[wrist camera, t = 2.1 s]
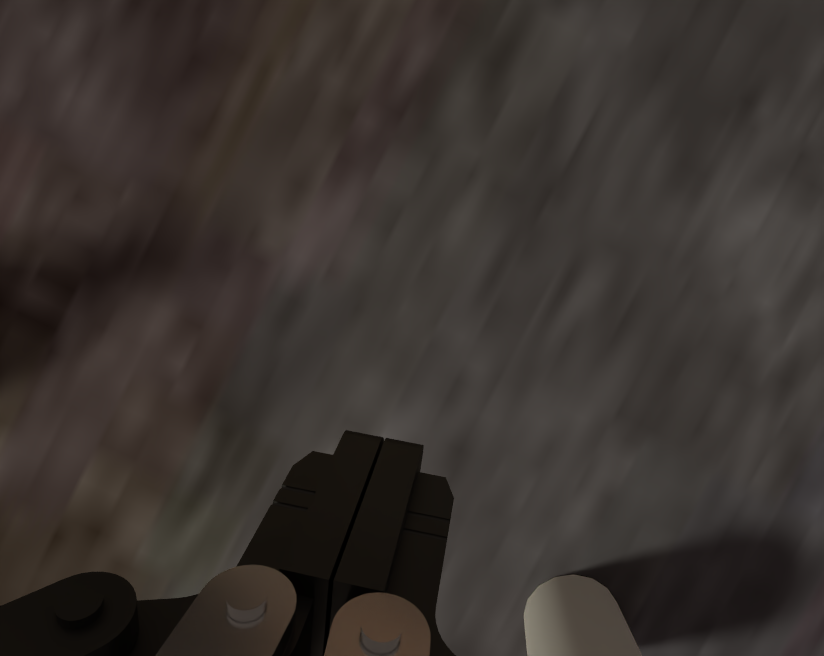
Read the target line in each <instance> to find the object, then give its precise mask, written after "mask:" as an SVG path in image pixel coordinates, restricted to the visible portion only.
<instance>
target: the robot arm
mask: <svg viewBox="0 0 824 656" xmlns="http://www.w3.org/2000/svg"><path fill="white" fill-rule="evenodd" d="M422 455H423V445H420V444H415V443H409V442H404V441H399V440H394V439H389V438H386V439H385V441H384V438H383V437H378V436H373V435H368V434H363V433H358V432H352V431H347V430H346V431H345V432H344V434H343V436H342V438H341V440H340V442H339V444H338V446H337V448H336V450H335V452H334V455H330V454H325V453H320V452H315V451H312V452H311V453H310V454H308V455H307V456H305V457H304V458H303V459H301V460H300V461H299V462H297V463H296V464H294V465H293V466H292V468H291V470H290V472H289V474H288V475H287V477H286V479H285V481H284V482H283V484H282V488H281V489H280V490H279V491H278V493H277V495H276V497H275V499H274V500H273V504H272V505H271V506H270V508H269V509H268V511H267V513H266V515H265V517H264V518H263V520H262V522H261V524H260V525H259V527H258V529H257V531H256V533H255V534H254V536H253V538H252V540H251V542H250V543H249V545H248V547H247V549H246V551H245V552H244V554H243V556H242V558H241V560H240V561H239V563H238V565H237V566H236V567H234V568H231V569H228V570H226V571H224V572H221V573H220V574H218V575H217V576H215V577H214V578H212V579H211V580H210V581H209V582H208V583H207V584H206V585H205V586H204V588H203V589H202V590H201V592H200V593H199V594H196V595H193V596H188V597H183V598H173V599H157V600H141V601H137V599H136V593H135V591H134V588H133V587H132V585H131V584H130V583H129V582H128V581H127V580H126V579H124V578H123V577H120V576H118V575H116V574H112V573H108V572H88V573H81V574H77V575H73V576H71V577H68V578H65V579H63V580H60V581H58V582H56V583H53V584H51V585H49V586H46V587H44V588H42V589H39V590H37V591H35V592H32V593H30V594H28V595H25V596H23V597H21V598H18V599H16V600H14V601H11V602H9V603H7V604H4V605H2V606H0V656H456V655H454V654H453V653H452V651H451V650H450V649H449V648H448V647H447V646H446V644H445V643H444V641H443V640H442V638H441V636H440V634H439V632H438V628H437V625H436V619H435V610H436V603H437V597H438V591H439V585H440V579H441V573H442V567H443V561H444V555H445V548H446V542H447V536H448V530H449V524H450V518H451V512H452V506H453V500H454V497H453V495H452V492H451V490H450V487H449V485H448V482H447V480H446V477H441V476H436V475H431V474H426V473H421V472H420V469H421V462H422Z"/></svg>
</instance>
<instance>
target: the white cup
mask: <svg viewBox="0 0 824 656" xmlns="http://www.w3.org/2000/svg"><path fill="white" fill-rule="evenodd" d="M524 624H525V635H526V646H527V656H642V654H641V652H640V650H639V648H638V646H637V644H636V641H635V639H634V637H633V635H632V633H631V631H630V629H629V627H628V625H627V623H626V620H625V618H624V616H623V614H622V612H621V610H620V608H619V606H618V604H617V602H616V600H615V599H614V597H613V596H612V594H611V593H610V591H609V590H608V588H606V587H605V586H603V585H602V584H600V583H599V582H597V581H596V580H594V579H592V578H588V577H584V576H579V575H574V574H573V575H566V576H558V577H554V578H552V579H550V580H548V581H547V582H545V583H543V584H541V585H539V586H538V587H537V588H536V590H535V591H534V592H533V593H532V595H531V596H530V597H529V598H528V600H527V604H526V608H525V611H524Z"/></svg>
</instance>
